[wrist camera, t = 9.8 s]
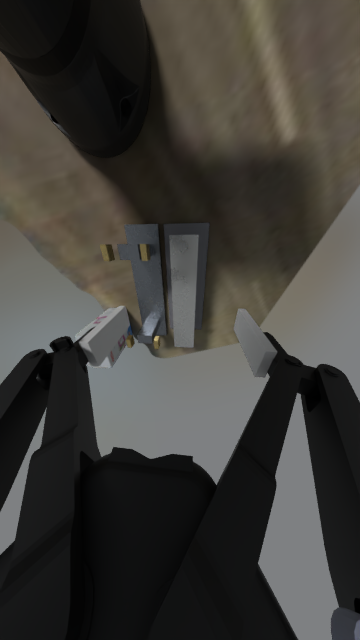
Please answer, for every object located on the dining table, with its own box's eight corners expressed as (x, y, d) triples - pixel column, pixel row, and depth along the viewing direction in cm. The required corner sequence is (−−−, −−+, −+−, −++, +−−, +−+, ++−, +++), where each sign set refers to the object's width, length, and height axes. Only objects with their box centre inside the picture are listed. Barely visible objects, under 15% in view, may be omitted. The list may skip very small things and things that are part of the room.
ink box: (134, 335, 37) (111, 370, 27) (117, 334, 38) (89, 368, 28) (127, 307, 33) (98, 336, 23) (108, 307, 34) (71, 335, 23)
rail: (175, 237, 24) (169, 235, 18) (197, 236, 24) (198, 234, 18) (177, 328, 34) (174, 346, 28) (193, 329, 34) (193, 347, 28)
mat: (164, 224, 24) (163, 223, 23) (209, 223, 23) (209, 222, 23) (170, 327, 35) (170, 328, 34) (201, 328, 34) (201, 329, 34)
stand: (125, 225, 24) (91, 216, 16) (159, 224, 24) (141, 214, 16) (144, 332, 36) (130, 358, 28) (167, 333, 36) (160, 359, 28)
